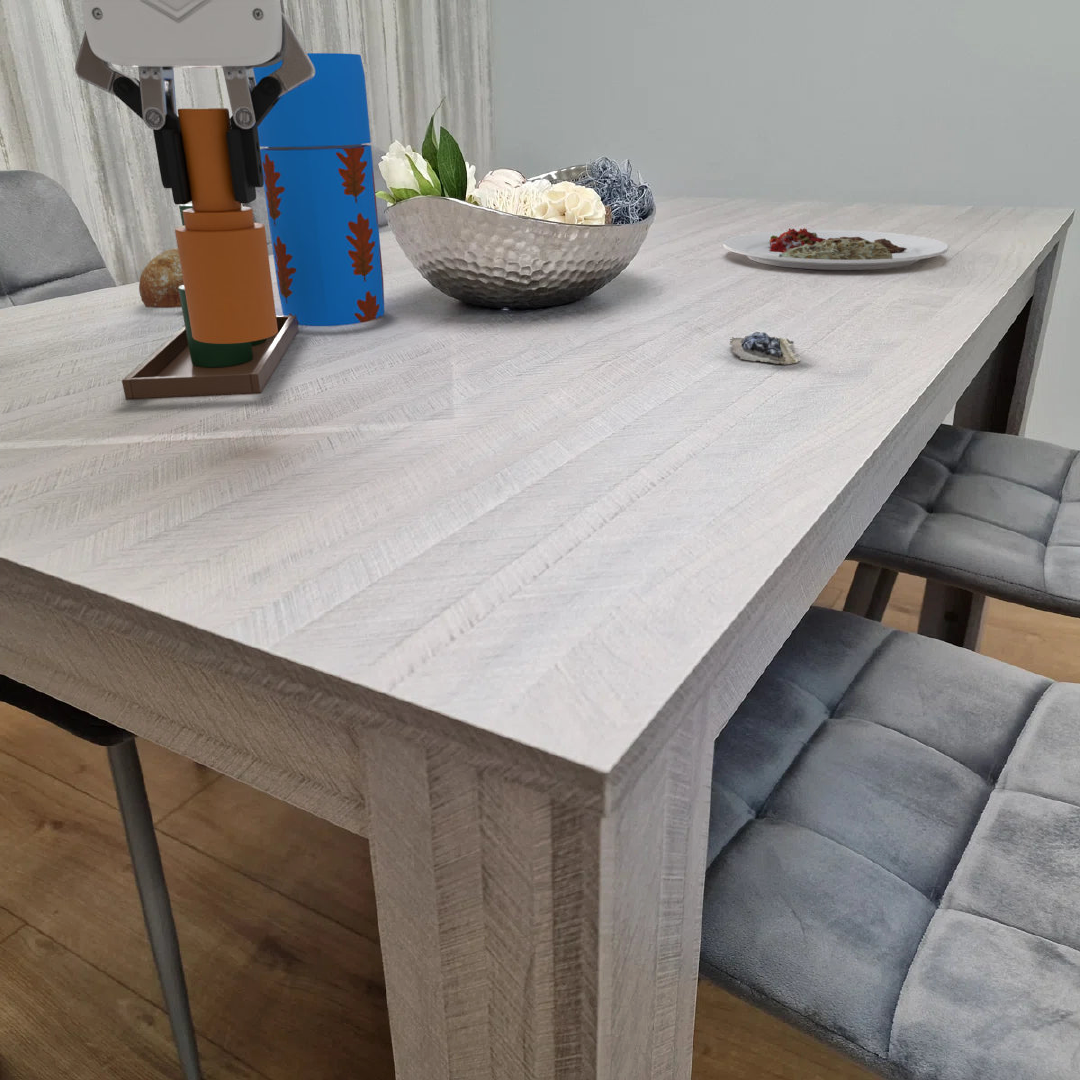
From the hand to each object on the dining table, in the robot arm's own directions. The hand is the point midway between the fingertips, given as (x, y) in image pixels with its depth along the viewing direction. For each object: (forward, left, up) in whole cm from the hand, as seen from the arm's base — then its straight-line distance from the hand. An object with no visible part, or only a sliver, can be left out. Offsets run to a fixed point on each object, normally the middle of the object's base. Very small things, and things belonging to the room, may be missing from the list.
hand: (216, 198), depth 56 cm
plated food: (+67, +70, -16) cm, 99 cm away
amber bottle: (0, 0, -8) cm, 8 cm away
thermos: (+1, +41, -16) cm, 44 cm away
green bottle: (-7, +23, -15) cm, 28 cm away
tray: (-7, +23, -16) cm, 29 cm away
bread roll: (-17, +54, -16) cm, 59 cm away
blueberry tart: (+41, +19, -16) cm, 48 cm away
